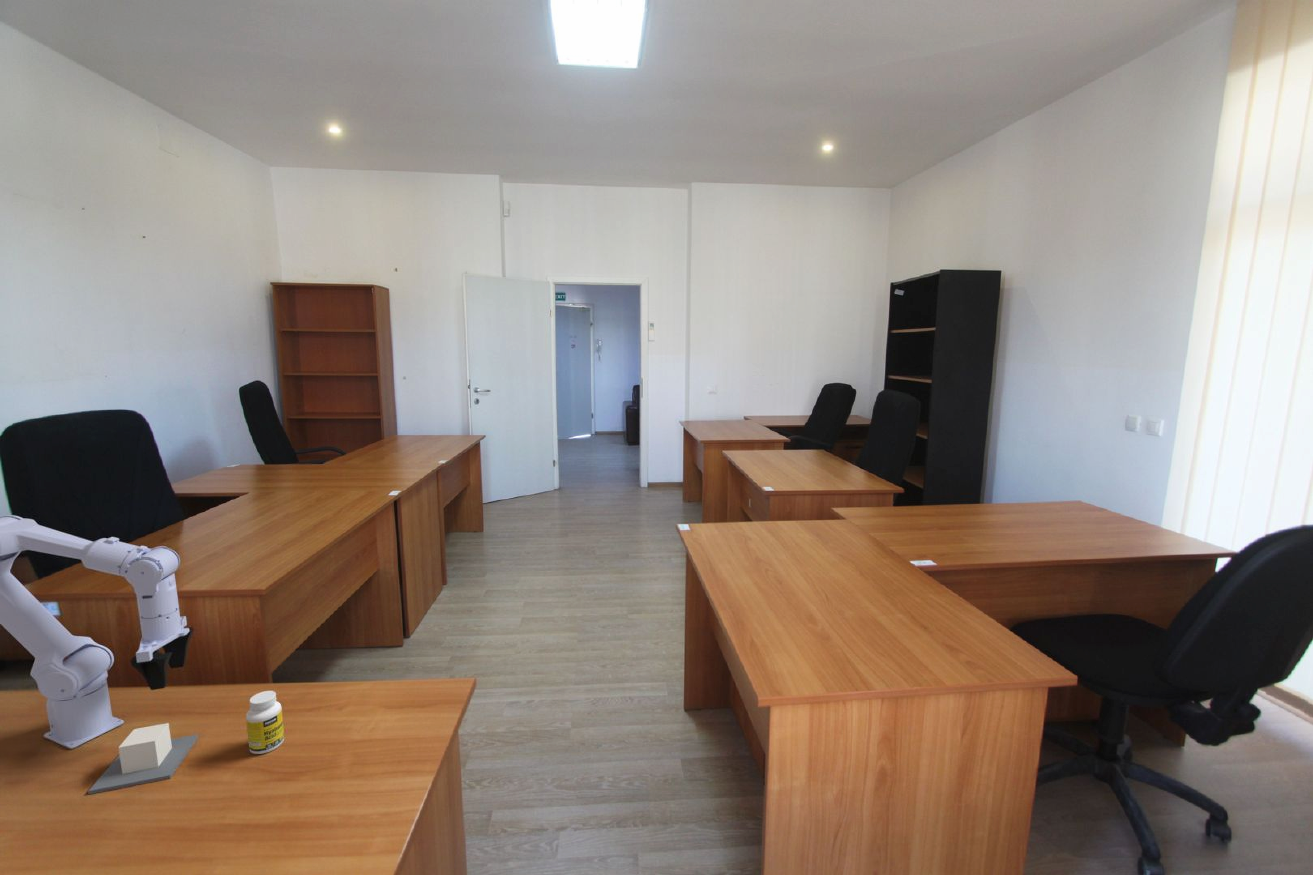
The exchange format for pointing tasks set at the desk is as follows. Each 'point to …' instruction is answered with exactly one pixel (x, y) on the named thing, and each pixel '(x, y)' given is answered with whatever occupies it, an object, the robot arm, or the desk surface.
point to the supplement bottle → (264, 723)
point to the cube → (145, 748)
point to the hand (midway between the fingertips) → (168, 677)
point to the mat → (165, 770)
